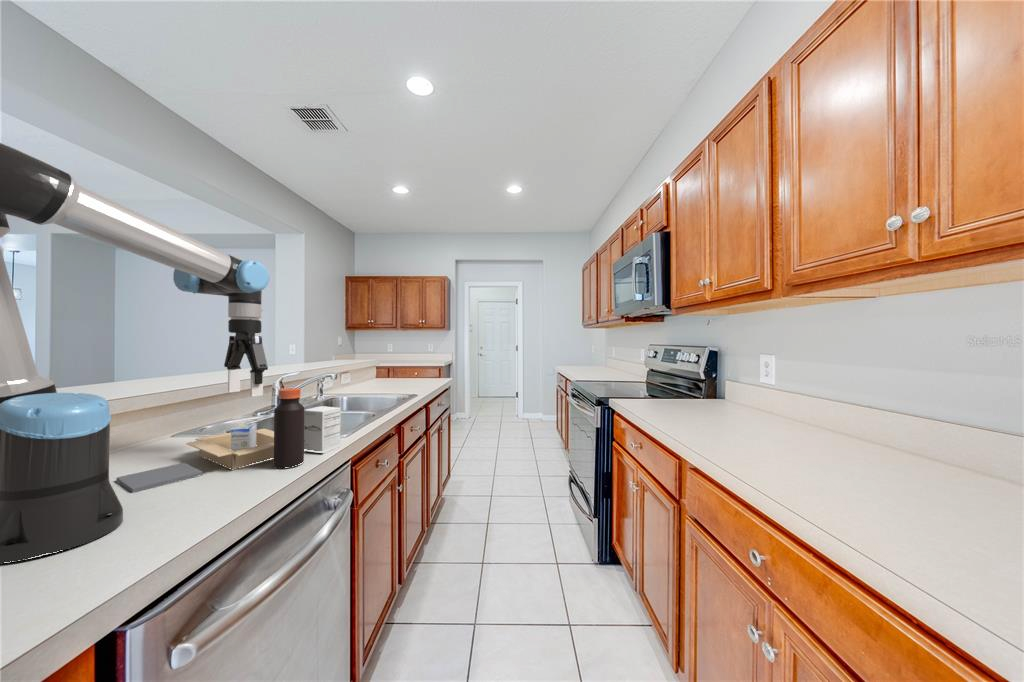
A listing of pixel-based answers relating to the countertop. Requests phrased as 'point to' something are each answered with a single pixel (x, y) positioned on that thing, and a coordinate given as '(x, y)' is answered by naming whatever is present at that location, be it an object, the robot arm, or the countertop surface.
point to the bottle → (288, 429)
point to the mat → (157, 477)
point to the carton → (221, 453)
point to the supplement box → (321, 428)
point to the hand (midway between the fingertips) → (245, 394)
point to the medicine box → (243, 436)
